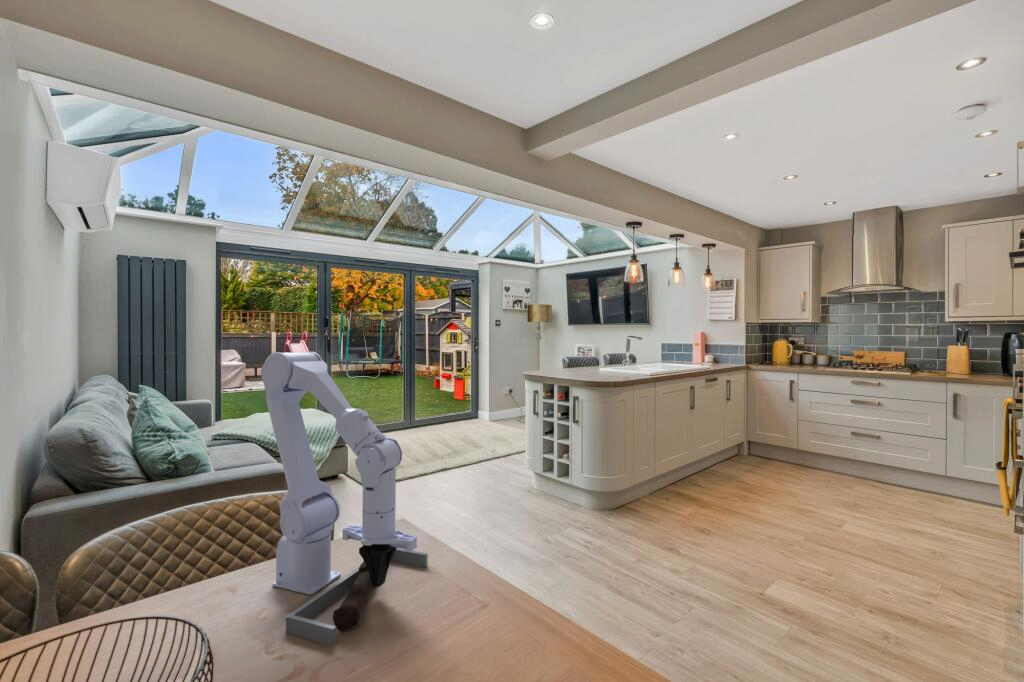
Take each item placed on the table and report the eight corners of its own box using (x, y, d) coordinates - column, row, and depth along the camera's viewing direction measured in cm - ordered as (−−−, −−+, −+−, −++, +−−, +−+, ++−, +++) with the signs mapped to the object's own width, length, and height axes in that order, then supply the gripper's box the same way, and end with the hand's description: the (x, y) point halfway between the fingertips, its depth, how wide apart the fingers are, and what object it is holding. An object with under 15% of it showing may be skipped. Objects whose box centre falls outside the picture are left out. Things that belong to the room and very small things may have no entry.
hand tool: (360, 629, 74) (353, 600, 74) (335, 635, 74) (328, 606, 74) (391, 571, 93) (386, 548, 93) (372, 576, 93) (366, 553, 93)
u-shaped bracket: (285, 632, 75) (285, 616, 75) (389, 558, 100) (389, 546, 100) (332, 646, 71) (332, 629, 71) (427, 565, 97) (427, 553, 97)
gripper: (330, 510, 84) (330, 587, 84) (400, 521, 79) (400, 603, 79) (357, 498, 90) (356, 569, 90) (423, 507, 85) (422, 583, 85)
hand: (378, 584), depth 85 cm, fingers closed
